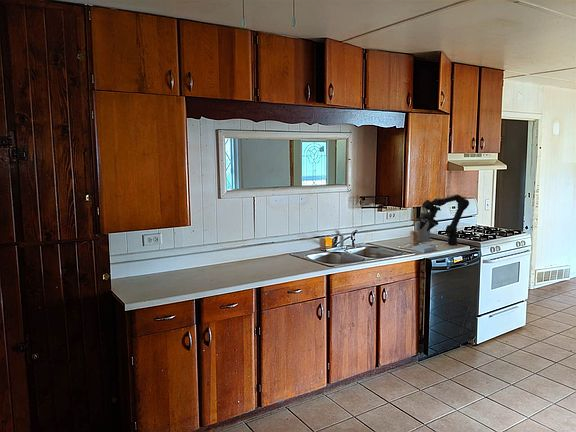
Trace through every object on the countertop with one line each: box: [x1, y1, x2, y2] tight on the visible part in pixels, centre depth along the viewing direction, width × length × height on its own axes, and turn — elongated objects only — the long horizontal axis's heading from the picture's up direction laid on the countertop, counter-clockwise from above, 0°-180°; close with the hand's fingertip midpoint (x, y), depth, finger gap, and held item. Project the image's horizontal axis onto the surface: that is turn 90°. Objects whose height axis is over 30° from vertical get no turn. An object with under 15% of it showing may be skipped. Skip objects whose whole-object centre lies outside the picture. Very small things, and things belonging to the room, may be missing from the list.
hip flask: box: [414, 220, 431, 243], centre depth 399 cm, size 16×4×20 cm, turn 116°
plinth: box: [412, 244, 436, 253], centre depth 367 cm, size 12×12×3 cm
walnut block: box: [409, 230, 420, 249], centre depth 378 cm, size 5×5×13 cm
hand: (423, 230), depth 373 cm, fingers open, 9 cm apart
